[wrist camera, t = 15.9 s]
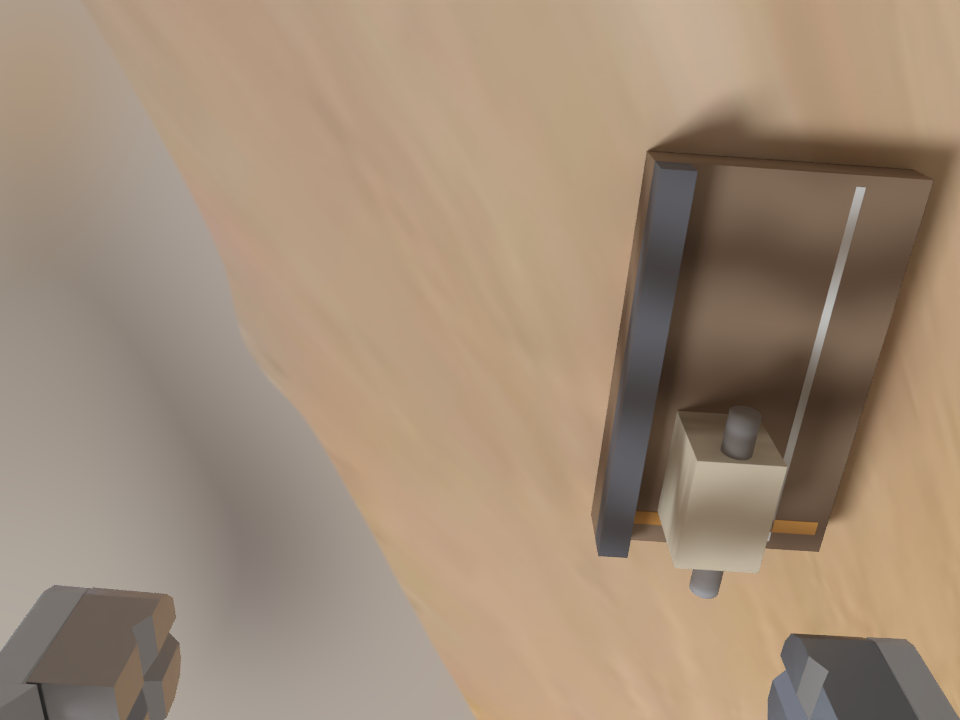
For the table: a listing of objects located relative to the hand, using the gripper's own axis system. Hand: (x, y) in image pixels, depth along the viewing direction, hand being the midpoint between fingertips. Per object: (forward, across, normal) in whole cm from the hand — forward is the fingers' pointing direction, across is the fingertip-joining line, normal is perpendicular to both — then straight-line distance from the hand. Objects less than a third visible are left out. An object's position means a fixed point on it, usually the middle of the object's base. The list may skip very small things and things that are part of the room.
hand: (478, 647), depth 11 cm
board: (+29, -13, +9) cm, 33 cm away
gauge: (+27, -12, +14) cm, 33 cm away
